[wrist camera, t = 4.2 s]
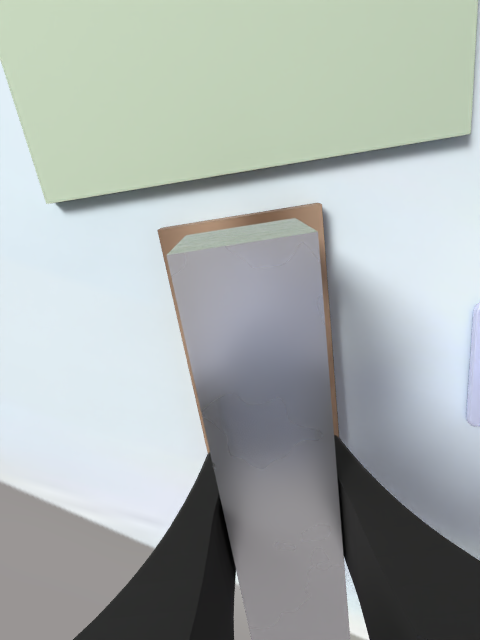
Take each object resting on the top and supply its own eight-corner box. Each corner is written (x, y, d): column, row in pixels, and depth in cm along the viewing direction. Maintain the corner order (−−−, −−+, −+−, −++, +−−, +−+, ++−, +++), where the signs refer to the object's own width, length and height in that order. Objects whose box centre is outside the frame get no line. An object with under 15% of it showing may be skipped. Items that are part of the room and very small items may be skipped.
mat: (472, -116, 15) (485, -132, 14) (460, 135, 18) (470, 133, 17) (-16, -22, 15) (-29, -32, 15) (54, 203, 19) (46, 203, 18)
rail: (185, 235, 10) (166, 255, 7) (295, 217, 10) (317, 231, 7) (262, 617, 16) (267, 713, 13) (333, 610, 16) (355, 704, 13)
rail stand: (317, 202, 19) (352, 211, 13) (336, 445, 24) (367, 526, 18) (161, 227, 19) (130, 246, 13) (213, 461, 24) (206, 546, 19)
